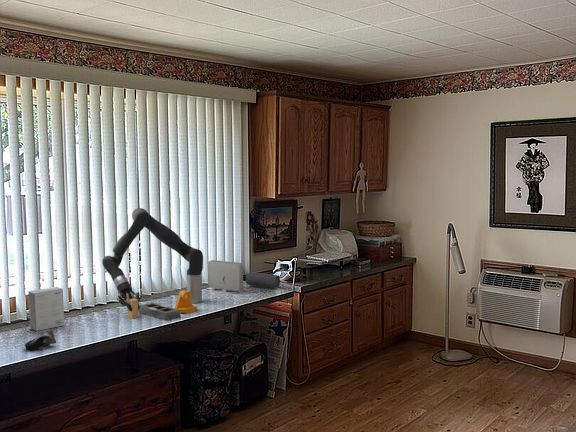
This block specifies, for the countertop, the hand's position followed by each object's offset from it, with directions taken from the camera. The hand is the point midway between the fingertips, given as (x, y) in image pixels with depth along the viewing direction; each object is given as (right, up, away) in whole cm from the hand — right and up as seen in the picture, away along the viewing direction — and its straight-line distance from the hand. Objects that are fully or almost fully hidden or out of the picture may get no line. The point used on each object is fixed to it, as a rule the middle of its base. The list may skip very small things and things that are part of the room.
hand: (135, 309), depth 332 cm
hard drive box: (-41, -6, -19) cm, 46 cm away
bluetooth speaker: (+68, +2, +80) cm, 105 cm away
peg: (-1, -4, +2) cm, 5 cm away
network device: (+43, +1, +68) cm, 80 cm away
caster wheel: (-31, -10, -53) cm, 63 cm away
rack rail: (+12, -4, +7) cm, 14 cm away
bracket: (+26, -4, +15) cm, 30 cm away
